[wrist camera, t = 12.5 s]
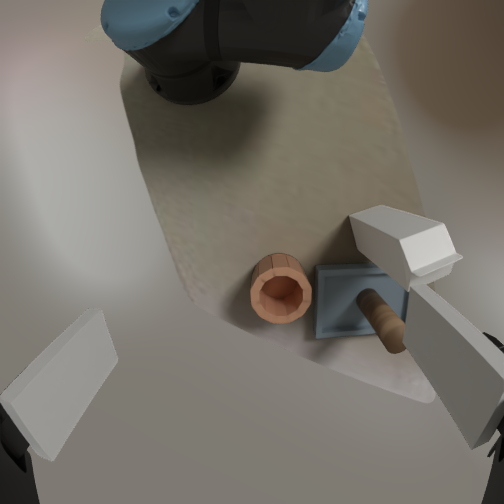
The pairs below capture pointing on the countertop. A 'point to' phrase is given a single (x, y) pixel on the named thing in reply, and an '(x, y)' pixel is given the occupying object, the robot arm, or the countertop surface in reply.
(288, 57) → the robot arm
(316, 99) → the countertop surface
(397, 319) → the baguette
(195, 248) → the countertop surface
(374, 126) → the countertop surface
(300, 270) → the cup
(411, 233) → the milk
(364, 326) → the tray
